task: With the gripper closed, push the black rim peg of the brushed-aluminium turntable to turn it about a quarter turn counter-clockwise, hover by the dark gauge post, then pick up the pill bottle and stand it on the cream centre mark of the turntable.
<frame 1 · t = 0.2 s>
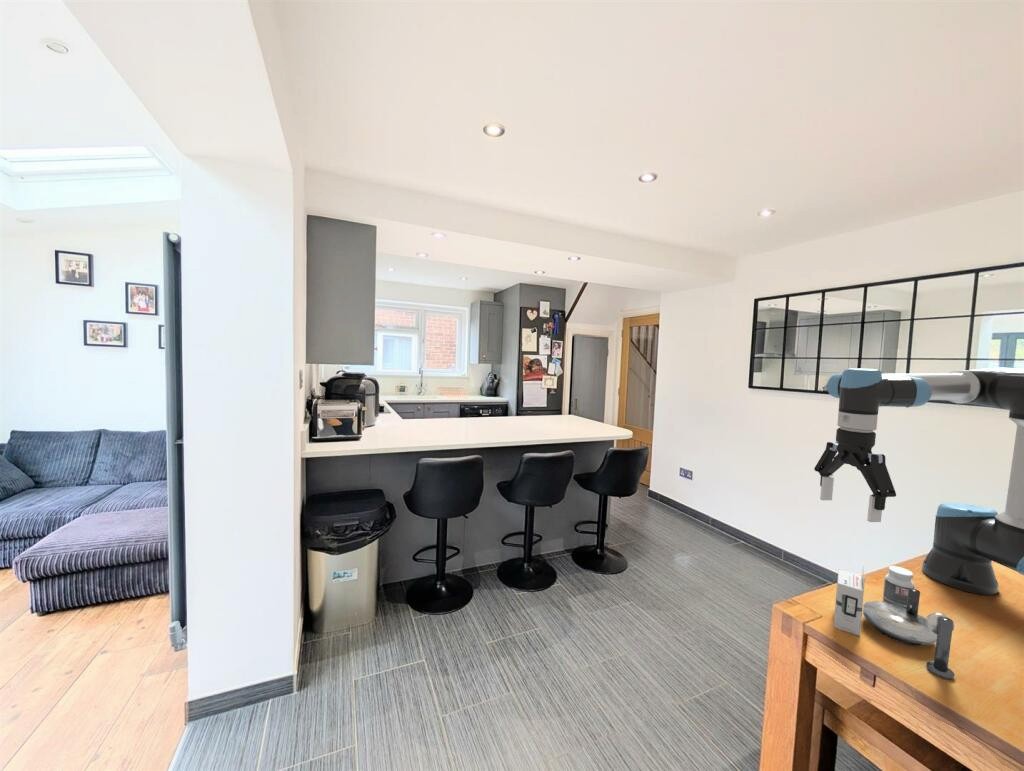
hand: (848, 510, 101), 27 cm above the table, fingers open, 13 cm apart
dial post: (939, 672, 83), on the table
pill bottle: (896, 606, 105), on the table
ink box: (846, 624, 98), on the table
turntable base: (897, 631, 95), on the table
turntable: (899, 609, 95), point 6 cm above the table, hinge at 0.0°
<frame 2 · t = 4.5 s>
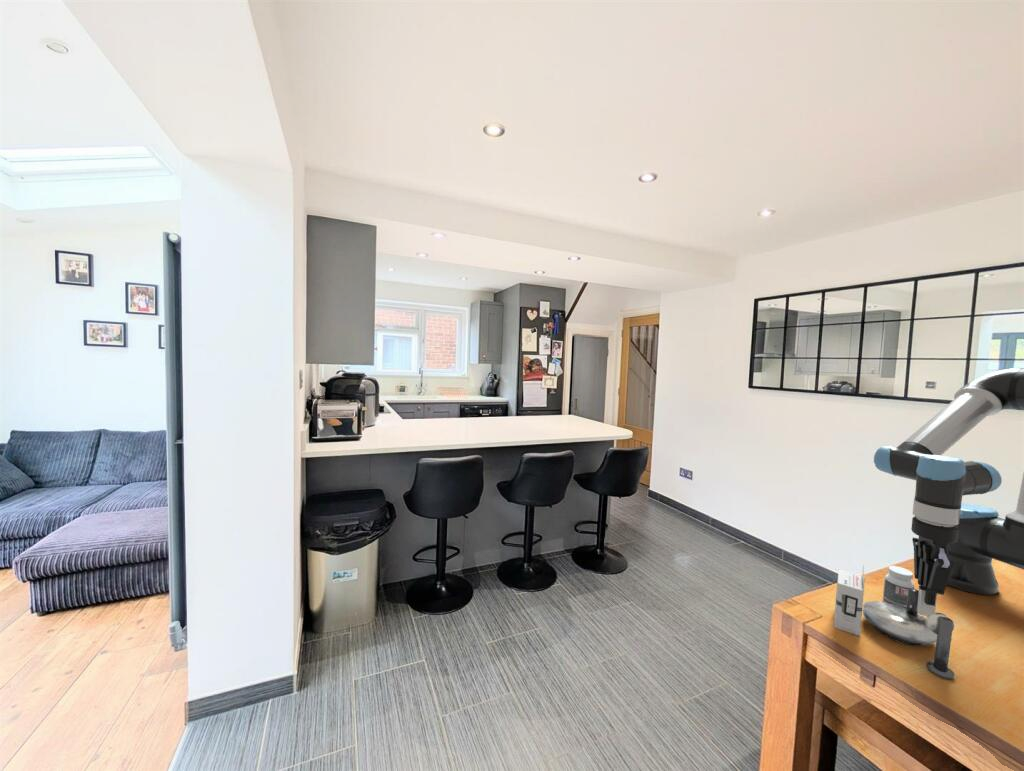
hand: (925, 614, 95), 5 cm above the table, fingers closed
turntable: (899, 609, 95), point 6 cm above the table, hinge at 0.0°, touching gripper
everything else where it was.
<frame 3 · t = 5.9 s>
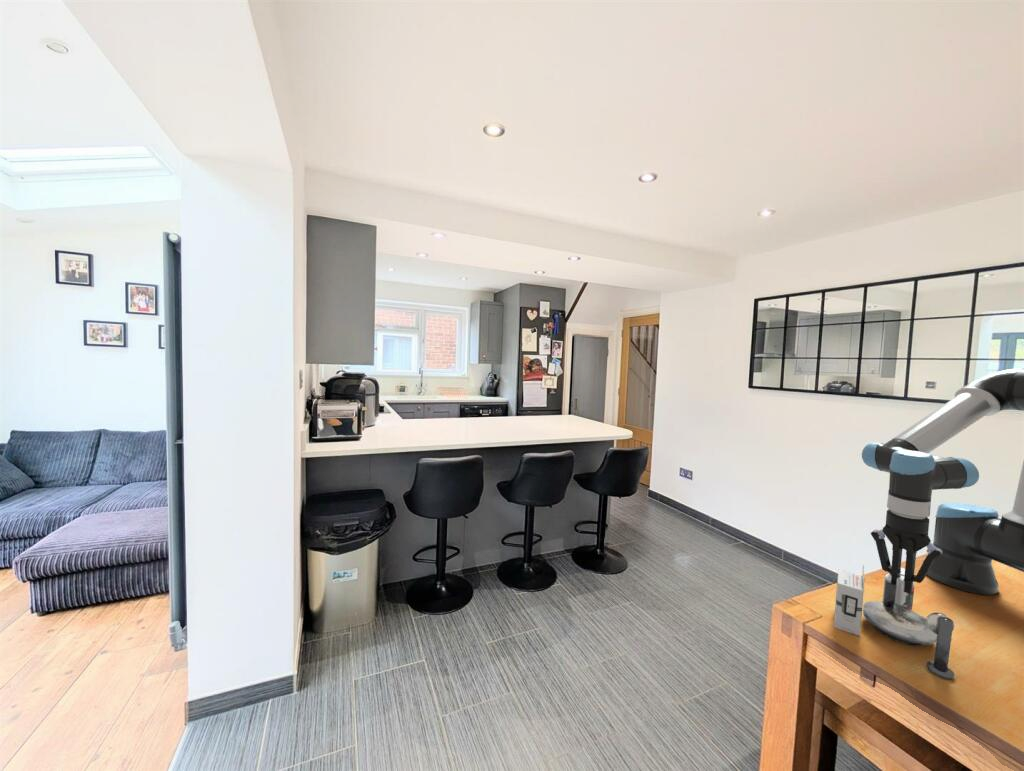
hand: (900, 601, 99), 5 cm above the table, fingers closed
turntable: (899, 609, 95), point 6 cm above the table, hinge at 45.1°, touching gripper
everything else where it was.
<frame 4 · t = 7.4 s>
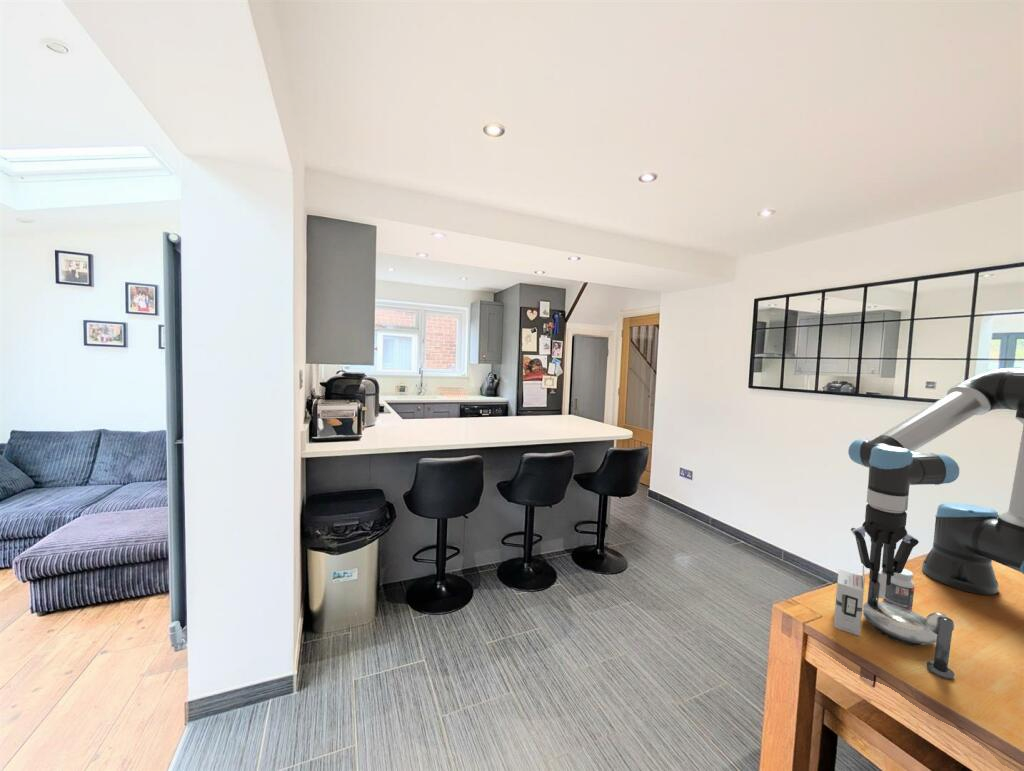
hand: (878, 594, 101), 5 cm above the table, fingers closed
turntable: (899, 609, 95), point 6 cm above the table, hinge at 86.7°
everything else where it was.
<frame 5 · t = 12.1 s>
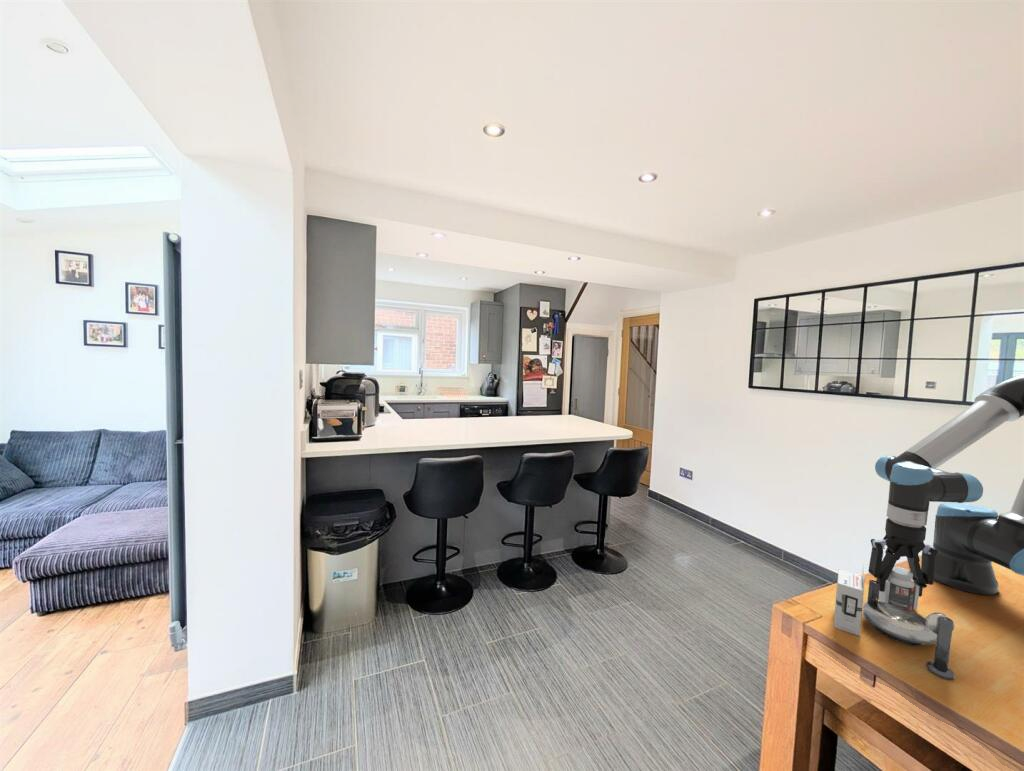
hand: (897, 604, 105), 0 cm above the table, fingers closed on pill bottle, 6 cm apart
pill bottle: (896, 606, 105), on the table, touching gripper
everything else where it was.
when the fingers open (5 cm above the table, at t = 16.0 s): pill bottle drops 1 cm, resting on turntable.
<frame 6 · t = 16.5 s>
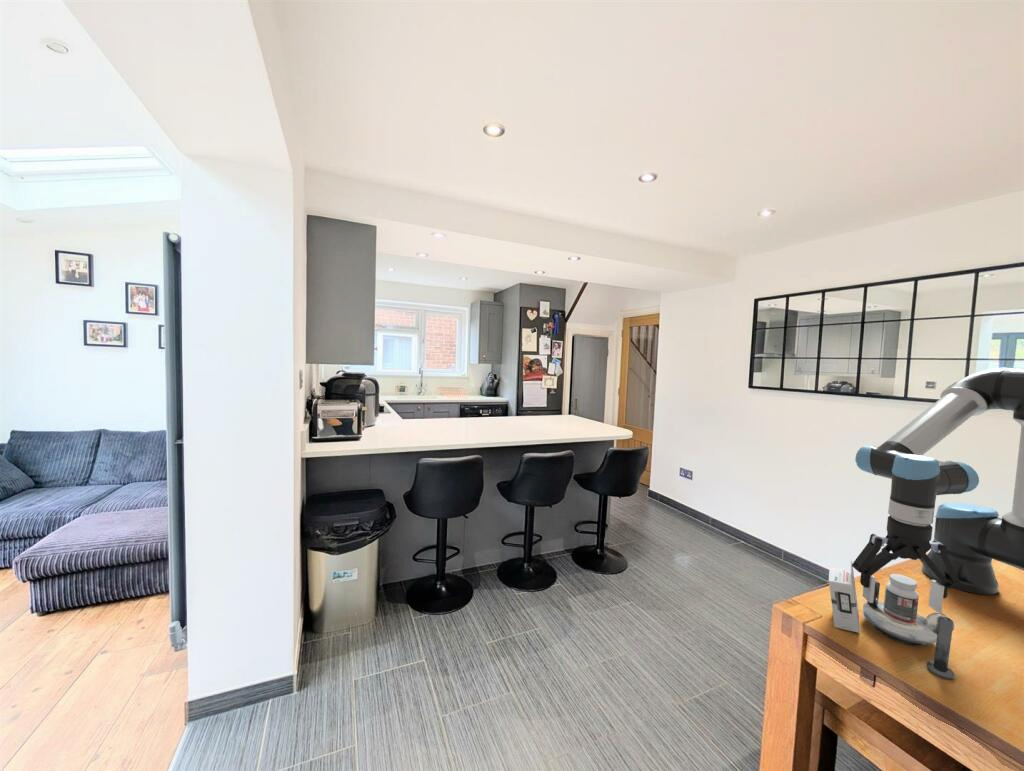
hand: (900, 604, 95), 7 cm above the table, fingers open, 13 cm apart
pill bottle: (899, 618, 95), point 3 cm above the table, touching turntable
ink box: (846, 622, 98), on the table, touching hand
turntable: (899, 609, 95), point 6 cm above the table, hinge at 86.7°, touching pill bottle
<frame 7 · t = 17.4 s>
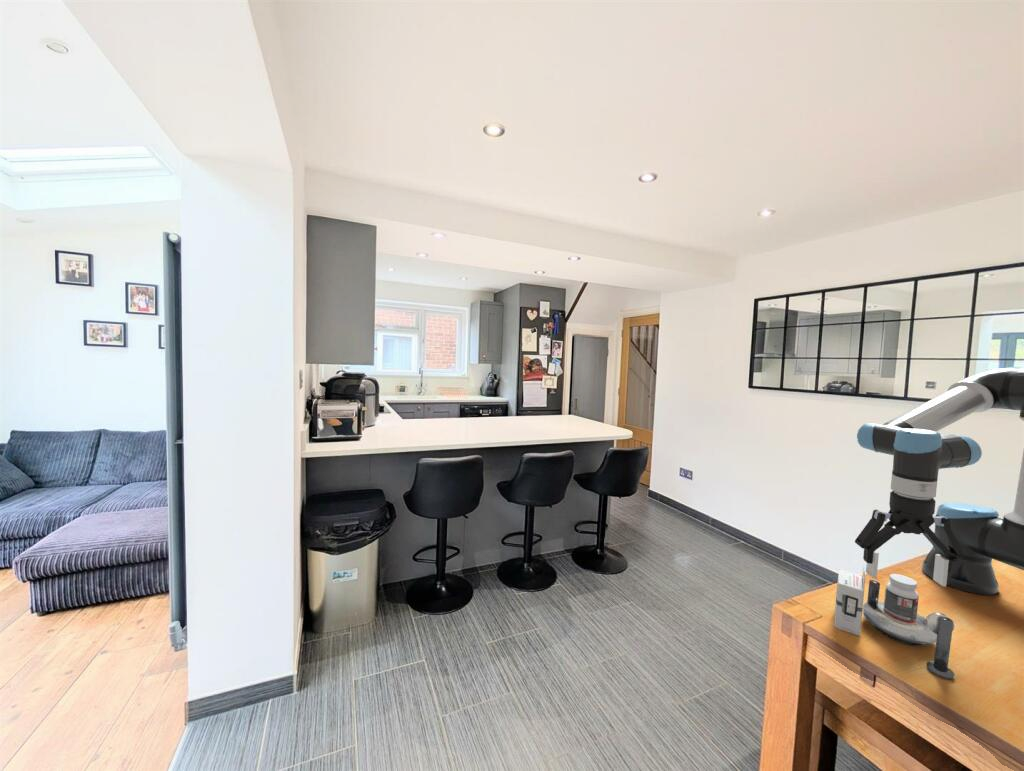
hand: (904, 579, 94), 13 cm above the table, fingers open, 13 cm apart
ink box: (846, 623, 98), on the table
everything else where it was.
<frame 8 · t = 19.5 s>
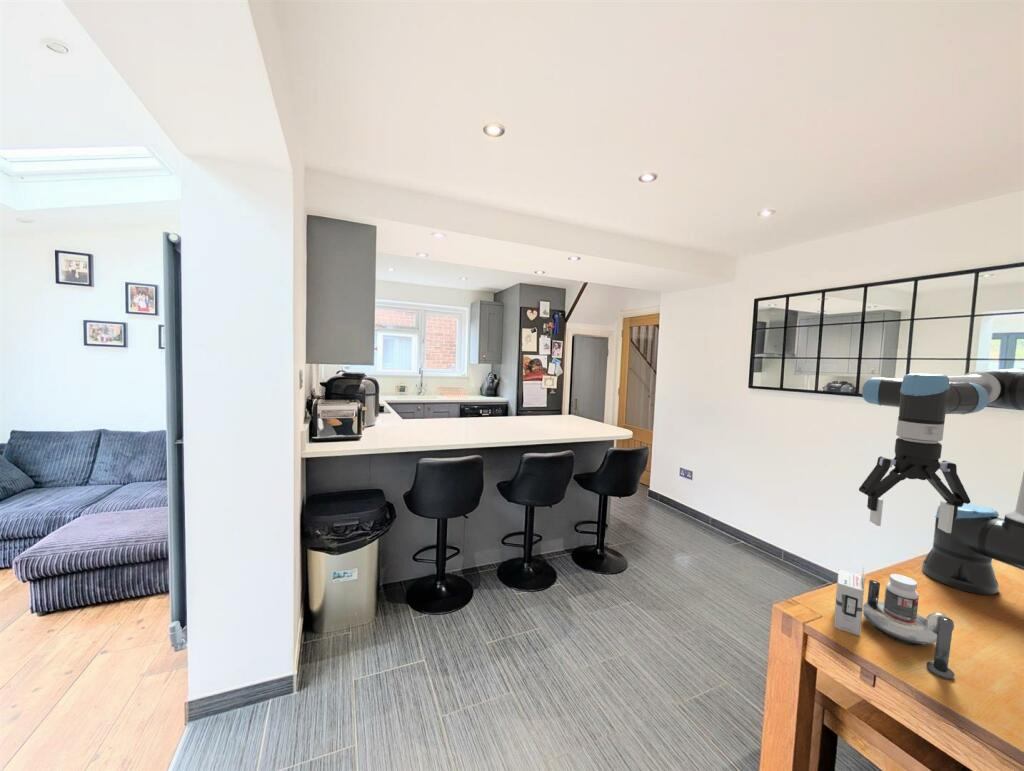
hand: (909, 527, 93), 27 cm above the table, fingers open, 13 cm apart
nothing on the table moved.
at the end: pill bottle 0.1 cm from the turntable (horizontally); pill bottle tilted 0°; turntable at +87° (first picture: +0°) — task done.
